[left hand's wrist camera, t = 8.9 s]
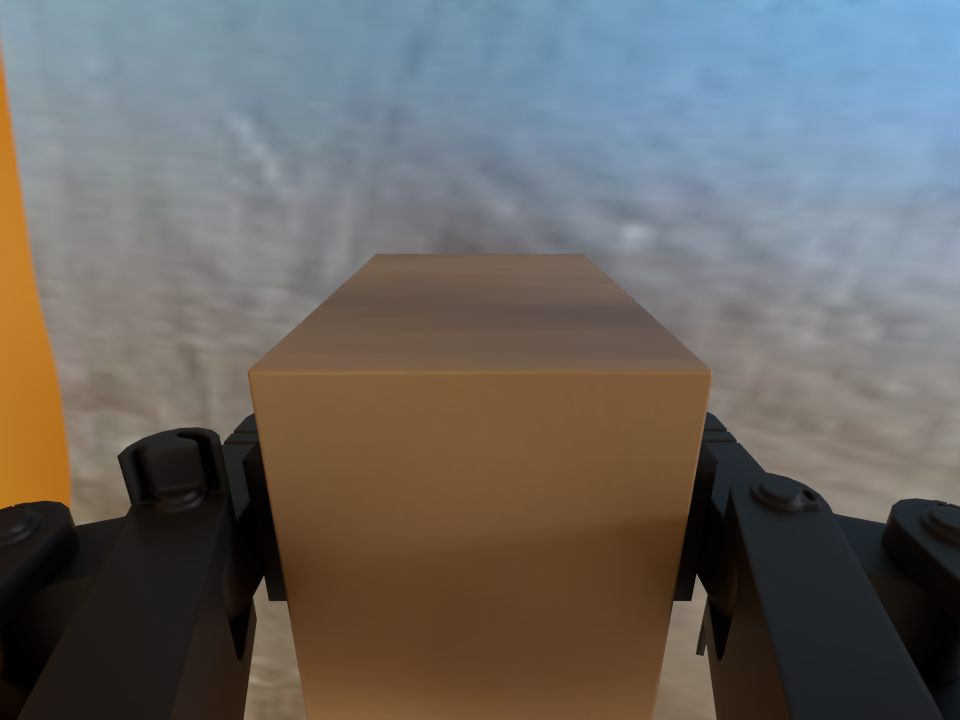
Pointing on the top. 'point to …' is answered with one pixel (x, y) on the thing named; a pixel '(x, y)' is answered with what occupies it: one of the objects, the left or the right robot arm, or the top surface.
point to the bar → (480, 489)
